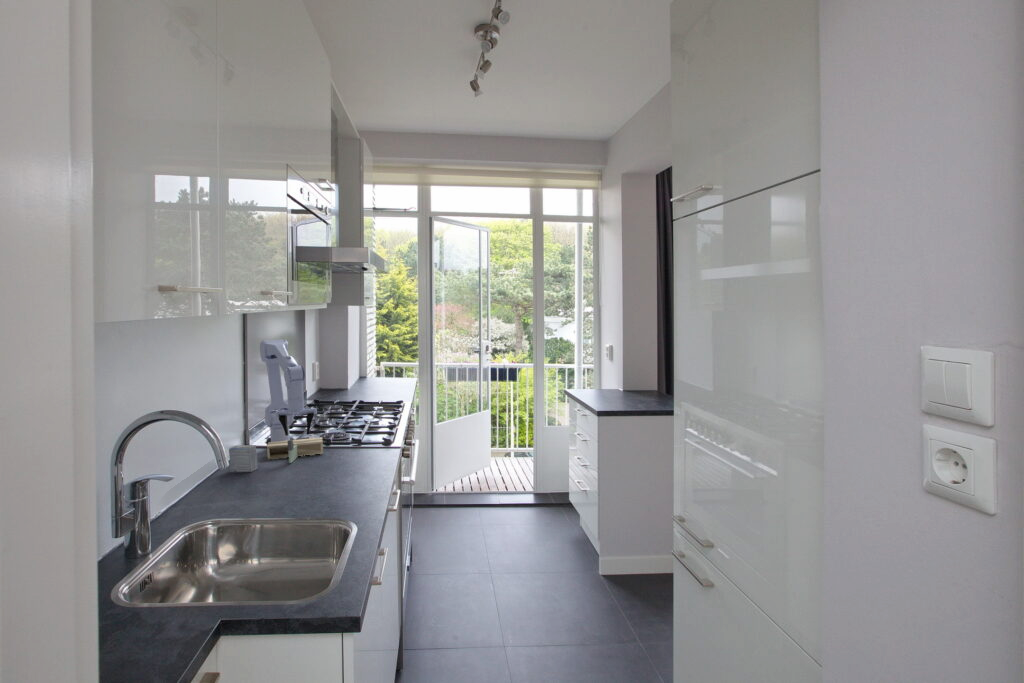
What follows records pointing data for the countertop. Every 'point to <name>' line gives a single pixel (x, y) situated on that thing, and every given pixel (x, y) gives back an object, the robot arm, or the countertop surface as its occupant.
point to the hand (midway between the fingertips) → (297, 434)
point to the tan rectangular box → (303, 448)
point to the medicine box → (243, 458)
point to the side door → (292, 451)
